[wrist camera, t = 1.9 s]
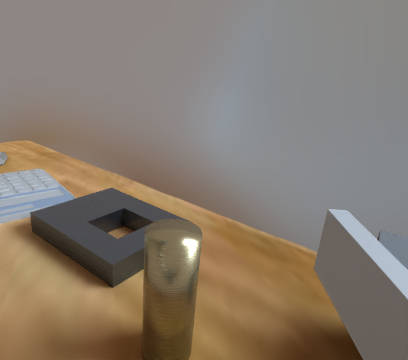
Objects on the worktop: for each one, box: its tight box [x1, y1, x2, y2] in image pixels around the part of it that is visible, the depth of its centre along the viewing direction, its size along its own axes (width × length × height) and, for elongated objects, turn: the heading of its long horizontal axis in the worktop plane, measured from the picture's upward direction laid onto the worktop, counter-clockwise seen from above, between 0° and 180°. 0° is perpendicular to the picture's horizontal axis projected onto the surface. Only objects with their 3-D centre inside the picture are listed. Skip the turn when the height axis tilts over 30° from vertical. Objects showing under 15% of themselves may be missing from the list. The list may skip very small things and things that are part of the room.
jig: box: [30, 188, 190, 287], centre depth 44 cm, size 18×14×3 cm
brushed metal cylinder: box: [142, 219, 202, 360], centre depth 25 cm, size 4×4×12 cm
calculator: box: [0, 169, 76, 224], centre depth 55 cm, size 13×20×2 cm, turn 43°
